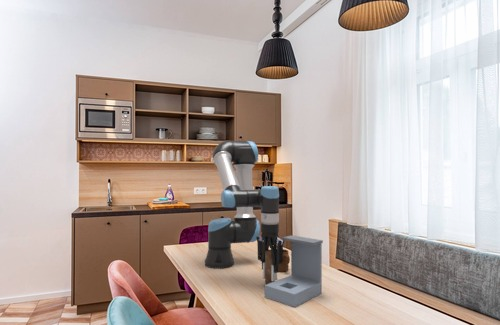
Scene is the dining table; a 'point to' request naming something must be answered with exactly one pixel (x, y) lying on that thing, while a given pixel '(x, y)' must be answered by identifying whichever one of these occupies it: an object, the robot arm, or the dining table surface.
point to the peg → (268, 266)
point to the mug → (284, 262)
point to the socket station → (299, 273)
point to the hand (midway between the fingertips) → (269, 278)
